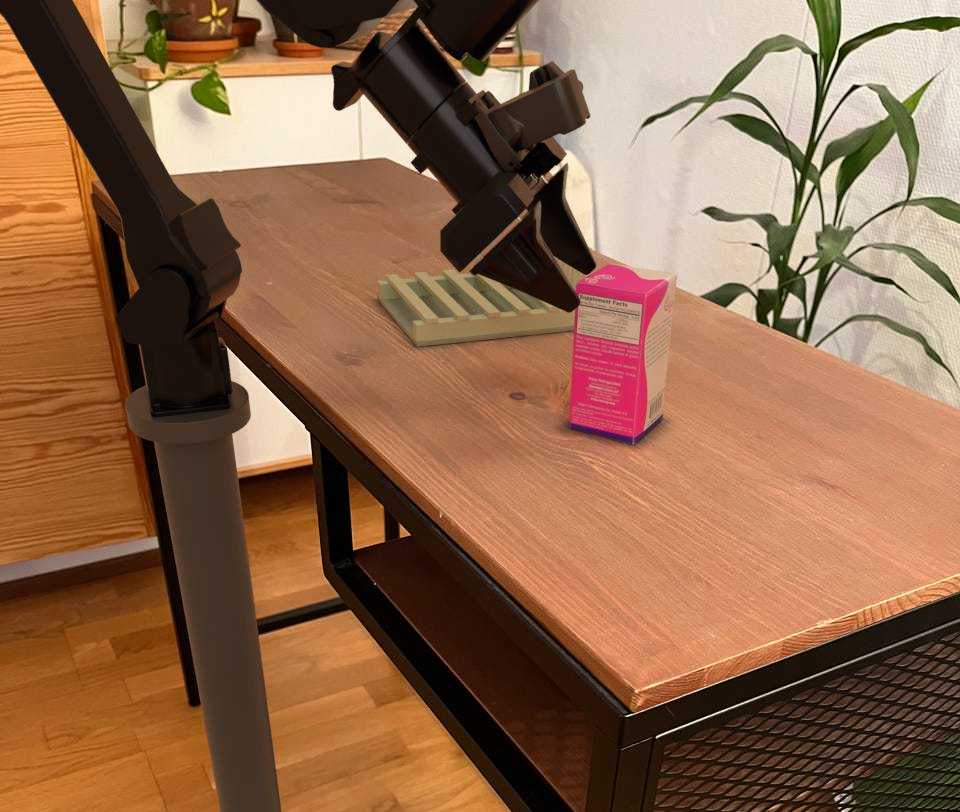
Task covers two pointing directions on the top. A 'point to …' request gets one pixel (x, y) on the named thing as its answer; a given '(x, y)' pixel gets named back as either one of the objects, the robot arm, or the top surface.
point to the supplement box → (621, 351)
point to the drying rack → (468, 308)
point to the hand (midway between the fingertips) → (584, 288)
